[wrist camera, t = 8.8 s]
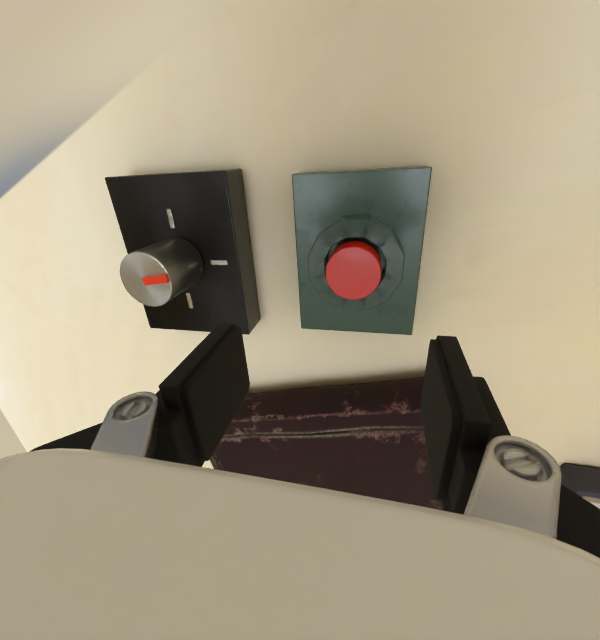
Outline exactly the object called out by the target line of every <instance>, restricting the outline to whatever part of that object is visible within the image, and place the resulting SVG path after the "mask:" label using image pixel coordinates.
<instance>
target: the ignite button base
mask: <svg viewBox="0 0 600 640" xmlns="http://www.w3.org/2000/svg"><path fill="white" fill-rule="evenodd" d="M431 170H432V167H429V166H417V167H399V168H380V169H362V170H343V171H325V172H307V173H297V174H292V183H293V199H294V216H295V232H296V248H297V265H298V281H299V298H300V314H301V328H306V329H322V330H339V331H356V332H372V333H389V334H405V335H412V329H413V321H414V313H415V304H416V296H417V288H418V279H419V271H420V262H421V254H422V246H423V237H424V229H425V221H426V212H427V204H428V195H429V187H430V179H431ZM349 241H362V242H365V243H367V244H369V245H371V246H372V247H373V248H374V249H375V250H376V251H377V253H378V254H379V256H380V259H381V279H380V282H379V285H378V286H377V288H376V289H375V290H374V291H373V292H372V293H371V294H370V295H368V296H366V297H364V298H361V299H346V298H343V297H341V296H339V295H337V294H336V293H335V292H333V290H332V289H331V288H330V287H329V285H328V283H327V280H326V266H327V263H328V261H329V259H330V257H331V255H332V253H333V252H334V251H335V249H336V248H337V247H339V246H340V245H341V244H343V243H346V242H349Z"/></svg>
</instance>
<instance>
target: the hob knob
mask: <svg viewBox="0 0 600 640" xmlns="http://www.w3.org/2000/svg"><path fill="white" fill-rule="evenodd" d="M203 268H204V267H203V260H202V257H201V255H200V253H199V251H198V250H197V249H196V247H195V246H194V245H193V244H191V243H190V242H189V241H187V240H185V239H182V238H178V237H172V238H169V239H166V240H163V241H161V242H158V243H155V244H153V245H150V246H148V247H145V248H142V249H140V250H137V251H134V252H132V253H130V254H128V255H126V256H125V257H124V259H123V260H122V262H121V266H120V276H121V280H122V282H123V284H124V286H125V288H126V290H127V291H128V292H129V294H130V295H131V296H132V297H133V298H135V299H136V300H137V301H139V302H140V303H142V304H145V305H148V306H161V305H163V304H165V303H167V302H168V301H170V300H171V299H173V298H174V297H176V296H177V295H179V294H180V293H182V292H183V291H184V290H186V289H187V288H189V287H190V286H192V285H193V284H195V283H196V282H198V281H199V279H200V278H201V276H202V274H203Z"/></svg>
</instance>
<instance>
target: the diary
mask: <svg viewBox="0 0 600 640" xmlns="http://www.w3.org/2000/svg"><path fill="white" fill-rule="evenodd" d="M424 378H425V377H422V378H413V379H405V380H396V381H387V382H378V383H368V384H353V385H338V386H323V387H308V388H300V389H292V390H283V391H275V392H267V393H258V394H247V395H246V397H245V398H244V400H243V402H242V404H241V406H240V407H239V409H238V411H237V413H236V414H235V416H234V418H233V420H232V421H231V423H230V425H229V427H228V428H227V430H226V432H225V434H224V435H223V437H222V439H221V441H220V442H219V444H218V446H217V448H216V449H215V451H214V453H213V455H212V457H211V458H210V461H211V463H212V465H213V467H214V469H216V470H221V471H227V472H233V473H239V474H244V475H250V476H256V477H261V478H267V479H273V480H278V481H284V482H290V483H295V484H301V485H307V486H312V487H318V488H324V489H329V490H335V491H340V492H346V493H351V494H357V495H362V496H368V497H373V498H379V499H384V500H390V501H395V502H401V503H406V504H412V505H417V506H422V507H427V508H432V509H437V510H442V511H443V507H442V501H439V500H435V498H434V493H433V486H432V480H431V473H430V467H429V460H428V454H427V447H426V441H425V434H424V428H423V421H422V415H421V398H422V391H423V384H424Z"/></svg>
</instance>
